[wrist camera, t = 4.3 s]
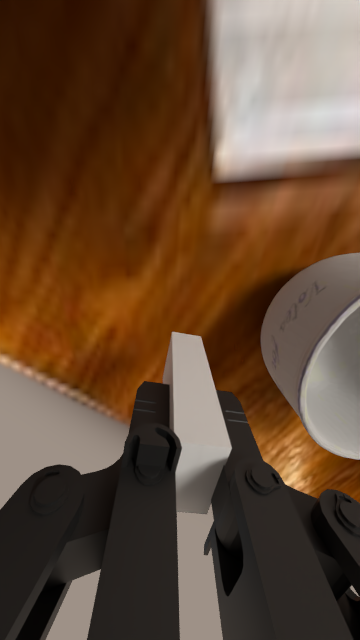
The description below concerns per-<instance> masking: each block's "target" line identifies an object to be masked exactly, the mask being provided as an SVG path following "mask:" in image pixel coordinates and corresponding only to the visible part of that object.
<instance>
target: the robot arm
mask: <svg viewBox="0 0 360 640" xmlns="http://www.w3.org/2000/svg"><path fill="white" fill-rule="evenodd" d="M247 422H248V421H247V419H246V416H245V414H244V411H243V408H242V406H241V403H240V401H239V400H238V399H237V398H236V397H235V396H234V395H233V393H232V392H226V391H218V390H216V389H215V386H214V382H213V378H212V375H211V371H210V368H209V364H208V360H207V357H206V353H205V350H204V346H203V342H202V339H201V336H196V335H189V334H183V333H177V332H172V335H171V340H170V345H169V350H168V354H167V359H166V364H165V369H164V374H163V384H161V383H154V382H147V381H144V382H143V383H142V385H141V386H140V387H139V388H138V389H137V394H136V399H135V404H134V409H133V414H132V419H131V424H130V429H129V434H128V437H127V439H126V441H125V446H124V453H123V454H122V456H121V457H120V459H119V460H117V461H116V462H115V463H114V464H113V465H111V466H109V467H108V468H106V469H103V470H100V471H96V472H92V473H87V474H83V475H81V474H80V472H79V471H77V470H76V469H74V468H72V467H71V466H66V465H54V466H49V467H46V468H44V469H42V470H40V471H38V472H36V473H34V474H33V475H31V476H30V477H29V478H28V479H27V480H26V481H25V482H24V483H23V484H22V485H21V486H20V487H19V488H18V489H17V491H16V492H15V493H14V494H13V495H12V497H11V498H10V499H9V500H8V501H7V503H6V504H5V505H4V506H3V507H2V508H1V510H0V640H45V639H46V637H47V635H48V633H49V631H50V629H51V626H52V624H53V622H54V620H55V618H56V615H57V613H58V611H59V609H60V606H61V604H62V602H63V600H64V598H65V596H66V594H67V591H68V589H69V587H70V585H71V582H72V580H74V579H77V578H79V577H82V576H84V575H87V574H90V573H92V572H95V571H97V570H100V569H101V572H100V577H99V583H98V588H97V593H96V597H95V602H94V608H93V612H92V618H91V623H90V628H89V633H88V638H87V640H180V633H179V594H178V555H177V519H176V518H177V514H176V512H186V513H187V512H188V513H199V514H207V513H208V510H209V507H210V504H211V503H212V510H213V516H214V522H213V525H212V527H211V529H210V532H209V534H208V537H207V539H206V542H205V544H204V555H208V553H209V551H210V548H212V556H213V563H214V572H215V580H216V588H217V595H218V603H219V611H220V619H221V627H222V634H223V640H360V597H358V596H357V595H356V594H355V593H354V592H353V591H352V590H351V589H350V586H351V585H352V586H353V587H354V589H355V590H356V592H357V593H358V595H359V596H360V503H359V502H357V501H356V500H354V499H353V498H351V497H350V496H348V495H347V494H345V493H342V492H340V491H337V490H328V489H327V490H326V491H324V492H322V493H321V495H320V496H319V498H318V499H317V498H314V497H312V496H310V495H307V494H305V493H302V492H300V491H298V490H295V489H293V488H291V487H289V486H287V485H285V483H284V482H283V480H282V478H281V477H280V475H279V473H278V472H277V471H276V470H275V469H274V468H273V467H272V466H271V465H269V464H267V463H266V462H264V461H263V459H262V456H261V454H260V451H259V449H258V446H257V444H256V441H255V439H254V436H253V434H252V431H251V429H250V426H249V424H248V423H247Z"/></svg>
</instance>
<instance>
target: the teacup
mask: <svg viewBox="0 0 360 640" xmlns="http://www.w3.org/2000/svg"><path fill="white" fill-rule="evenodd" d="M261 350H262V355H263V359H264V362H265V365H266V367H267V369H268V371H269V373H270V375H271V377H272V379H273V380H274V382H275V383H276V385H277V386H278V388H279V389H280V391H281V392H282V394H283V395H284V397H285V398H286V399H287V401H288V402H289V403H290V405H291V406H292V408H293V409H294V410H295V412H296V413H297V414H298V415H299V417H300V419H301V421H302V423H303V425H304V427H305V429H306V430H307V432H308V433H309V434H310V436H311V437H312V438H313V440H314V441H315V442H316V443H318V444H319V445H320V446H321V447H323V448H324V449H326V450H328V451H330V452H332V453H333V454H336V455H339V456H342V457H345V458H352V459H358V460H360V253H351V254H344V255H338V256H334V257H330V258H327V259H324V260H322V261H319V262H317V263H315V264H313V265H311V266H309V267H307V268H305V269H304V270H302V271H300V272H299V273H298V274H296V275H295V276H294V277H293V278H291V279H290V280H289V281H288V282H287V283H286V284H285V285H284V286H283V287H282V288H281V289H280V291H279V292H278V293H277V294H276V296H275V297H274V299H273V300H272V302H271V304H270V306H269V307H268V310H267V312H266V315H265V317H264V321H263V325H262V329H261Z"/></svg>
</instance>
